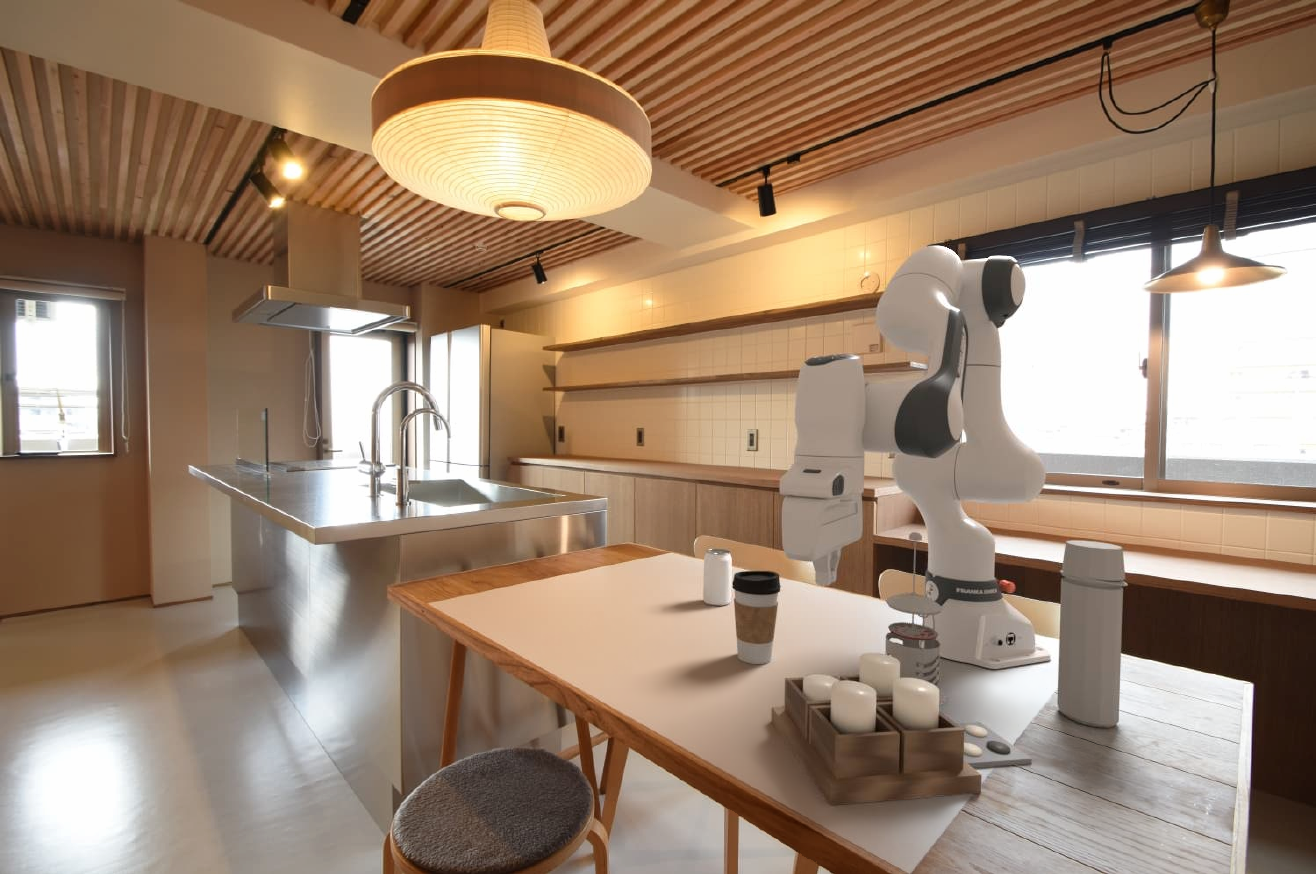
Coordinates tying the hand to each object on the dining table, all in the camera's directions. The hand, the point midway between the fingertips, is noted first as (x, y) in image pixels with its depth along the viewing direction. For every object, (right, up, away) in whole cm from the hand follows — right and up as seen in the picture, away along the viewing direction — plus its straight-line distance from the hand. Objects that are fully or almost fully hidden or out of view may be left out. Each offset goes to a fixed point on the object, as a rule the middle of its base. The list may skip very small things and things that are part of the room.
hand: (825, 583), depth 75 cm
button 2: (+1, -16, -8) cm, 17 cm away
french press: (+18, -21, +15) cm, 32 cm away
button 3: (+7, -16, +1) cm, 17 cm away
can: (-8, -20, +60) cm, 63 cm away
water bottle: (+41, -22, +8) cm, 47 cm away
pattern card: (+19, -21, -1) cm, 28 cm away
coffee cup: (-5, -20, +27) cm, 34 cm away
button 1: (0, -18, 0) cm, 18 cm away
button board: (+4, -21, -3) cm, 21 cm away
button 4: (+9, -16, -7) cm, 19 cm away
